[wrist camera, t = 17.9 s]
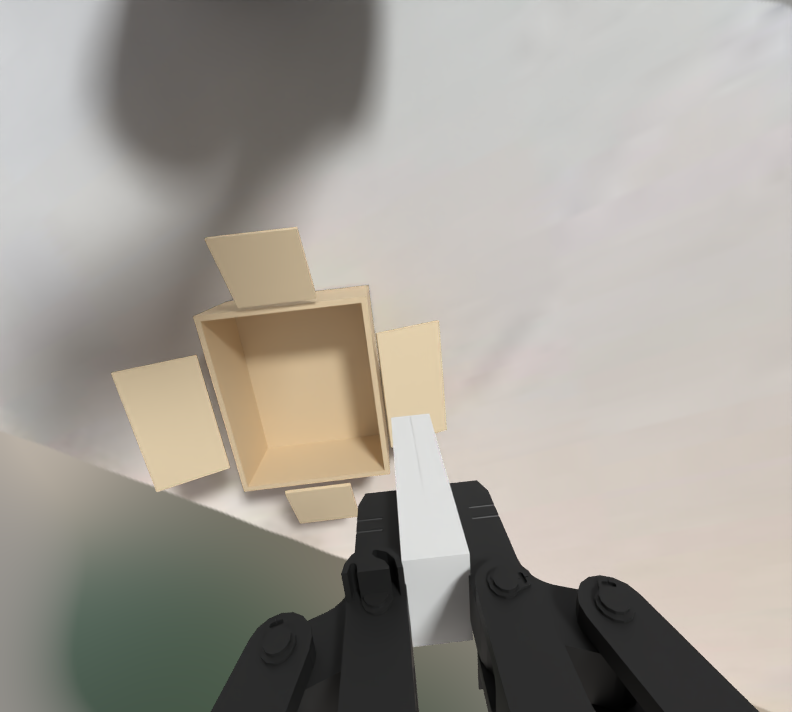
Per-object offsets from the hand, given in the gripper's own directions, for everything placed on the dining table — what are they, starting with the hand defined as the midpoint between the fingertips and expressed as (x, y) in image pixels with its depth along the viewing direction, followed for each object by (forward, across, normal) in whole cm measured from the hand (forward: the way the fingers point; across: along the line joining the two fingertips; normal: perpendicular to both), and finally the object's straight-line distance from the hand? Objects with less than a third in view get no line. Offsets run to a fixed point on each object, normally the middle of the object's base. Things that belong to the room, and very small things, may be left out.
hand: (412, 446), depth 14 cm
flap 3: (+26, -11, -24) cm, 37 cm away
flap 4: (+26, +2, -9) cm, 28 cm away
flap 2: (+23, -11, +6) cm, 26 cm away
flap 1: (+23, -24, -9) cm, 35 cm away
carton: (+34, -11, -9) cm, 37 cm away
